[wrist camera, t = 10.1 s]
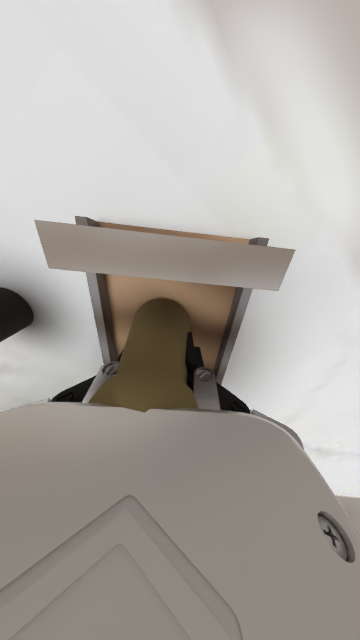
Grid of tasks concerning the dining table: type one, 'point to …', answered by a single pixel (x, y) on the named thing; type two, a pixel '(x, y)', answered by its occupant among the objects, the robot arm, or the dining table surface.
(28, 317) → the drinking cup
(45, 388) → the dining table surface
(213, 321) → the base
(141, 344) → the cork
